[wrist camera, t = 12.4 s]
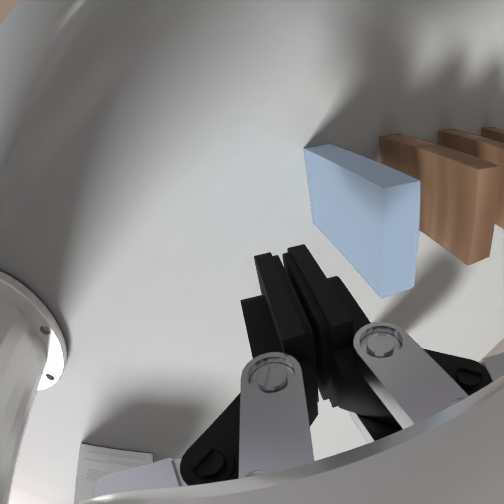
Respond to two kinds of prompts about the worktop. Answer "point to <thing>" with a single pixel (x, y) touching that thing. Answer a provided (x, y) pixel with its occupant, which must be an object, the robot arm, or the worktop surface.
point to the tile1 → (366, 215)
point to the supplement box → (103, 466)
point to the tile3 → (481, 149)
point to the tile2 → (449, 193)
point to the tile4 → (493, 134)
